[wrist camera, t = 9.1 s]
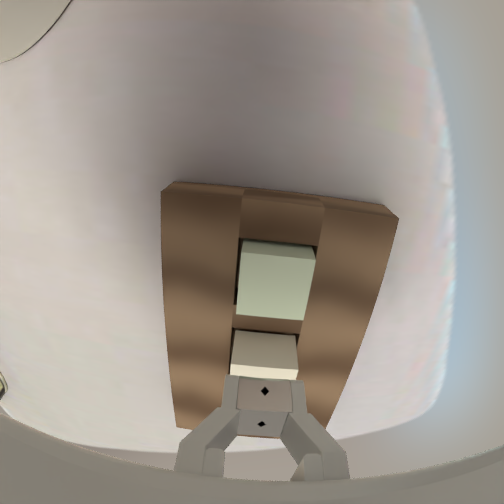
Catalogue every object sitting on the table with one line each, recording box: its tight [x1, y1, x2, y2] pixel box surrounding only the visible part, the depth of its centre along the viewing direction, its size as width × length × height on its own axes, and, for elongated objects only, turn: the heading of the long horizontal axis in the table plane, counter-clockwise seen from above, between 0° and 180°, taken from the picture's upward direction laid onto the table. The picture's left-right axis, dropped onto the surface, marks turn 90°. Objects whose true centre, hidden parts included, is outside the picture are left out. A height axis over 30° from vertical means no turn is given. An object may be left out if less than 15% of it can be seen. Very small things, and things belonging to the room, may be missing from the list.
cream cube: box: [230, 330, 298, 380], centre depth 22 cm, size 4×4×4 cm
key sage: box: [236, 238, 316, 320], centre depth 21 cm, size 4×4×4 cm
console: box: [161, 182, 399, 439], centre depth 25 cm, size 24×15×3 cm, turn 175°
